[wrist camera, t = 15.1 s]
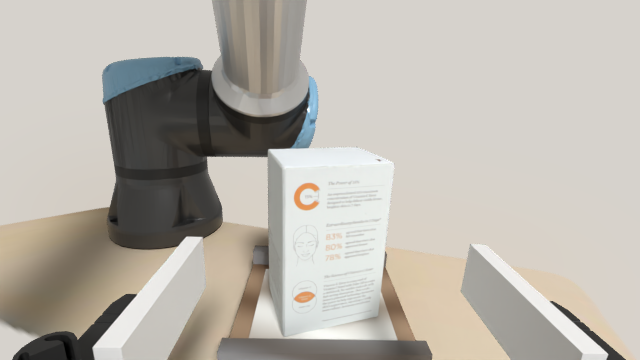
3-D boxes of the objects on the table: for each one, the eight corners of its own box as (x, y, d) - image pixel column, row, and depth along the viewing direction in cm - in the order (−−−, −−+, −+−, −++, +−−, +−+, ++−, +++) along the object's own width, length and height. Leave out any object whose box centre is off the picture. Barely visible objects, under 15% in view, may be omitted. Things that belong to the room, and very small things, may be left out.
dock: (255, 278, 34) (255, 245, 33) (380, 280, 35) (384, 249, 34) (220, 399, 21) (217, 352, 20) (424, 401, 21) (432, 355, 20)
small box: (348, 274, 31) (358, 145, 27) (379, 318, 25) (398, 162, 21) (267, 287, 28) (266, 147, 25) (281, 340, 22) (282, 166, 19)
